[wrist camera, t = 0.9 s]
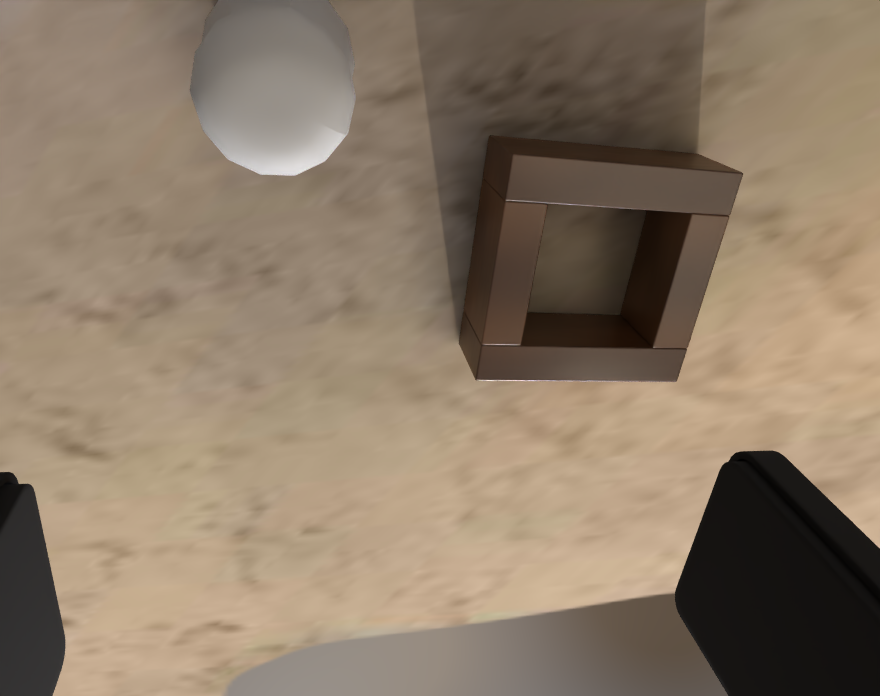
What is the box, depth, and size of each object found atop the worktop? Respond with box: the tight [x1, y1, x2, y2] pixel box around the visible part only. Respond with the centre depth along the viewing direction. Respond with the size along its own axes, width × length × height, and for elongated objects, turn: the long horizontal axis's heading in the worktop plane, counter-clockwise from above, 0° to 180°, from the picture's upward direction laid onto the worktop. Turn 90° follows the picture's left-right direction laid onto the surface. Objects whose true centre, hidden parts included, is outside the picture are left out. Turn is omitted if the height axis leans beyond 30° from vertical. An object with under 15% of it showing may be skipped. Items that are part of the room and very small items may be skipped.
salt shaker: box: [190, 0, 356, 175], centre depth 23 cm, size 6×6×13 cm
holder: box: [459, 135, 743, 382], centre depth 34 cm, size 11×11×4 cm
